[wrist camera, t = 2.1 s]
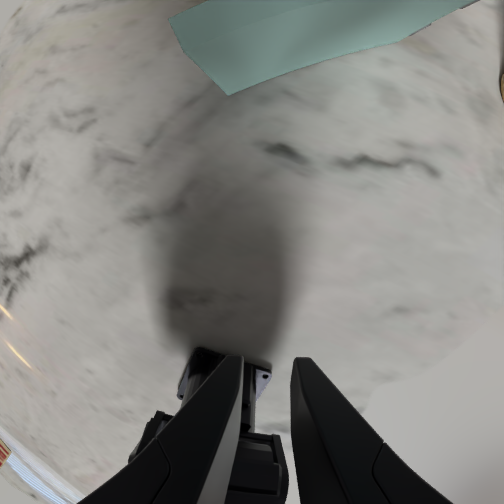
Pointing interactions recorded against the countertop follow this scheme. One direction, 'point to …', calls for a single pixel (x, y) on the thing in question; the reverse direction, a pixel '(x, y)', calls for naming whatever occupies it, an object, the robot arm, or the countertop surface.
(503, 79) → the sprinkles bottle
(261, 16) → the door
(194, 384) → the robot arm
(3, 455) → the milk carton
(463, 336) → the countertop surface
